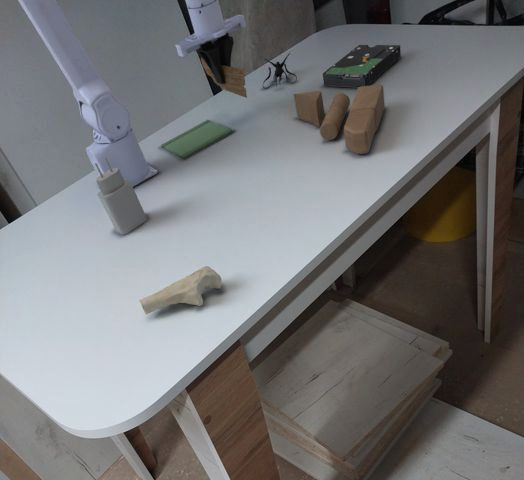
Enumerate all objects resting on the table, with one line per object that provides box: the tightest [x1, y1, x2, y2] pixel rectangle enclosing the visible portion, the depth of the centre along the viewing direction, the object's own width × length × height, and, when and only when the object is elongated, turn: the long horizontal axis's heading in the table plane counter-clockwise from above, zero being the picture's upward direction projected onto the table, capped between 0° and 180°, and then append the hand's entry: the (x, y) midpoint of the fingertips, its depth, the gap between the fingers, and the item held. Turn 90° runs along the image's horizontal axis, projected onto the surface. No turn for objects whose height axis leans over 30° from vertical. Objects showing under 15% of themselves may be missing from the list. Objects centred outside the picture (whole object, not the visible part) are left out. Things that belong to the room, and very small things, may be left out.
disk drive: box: [322, 44, 402, 89], centre depth 111 cm, size 10×3×15 cm
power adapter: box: [95, 157, 148, 236], centre depth 86 cm, size 3×5×12 cm, turn 134°
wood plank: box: [200, 57, 248, 99], centre depth 103 cm, size 15×2×5 cm, turn 35°
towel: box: [160, 119, 234, 160], centre depth 108 cm, size 12×10×1 cm
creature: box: [262, 52, 298, 90], centre depth 117 cm, size 8×5×8 cm
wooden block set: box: [293, 84, 385, 155], centre depth 94 cm, size 17×6×18 cm
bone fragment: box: [138, 265, 222, 315], centre depth 71 cm, size 5×11×4 cm, turn 111°
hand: (224, 81), depth 104 cm, fingers closed on wood plank, 1 cm apart
